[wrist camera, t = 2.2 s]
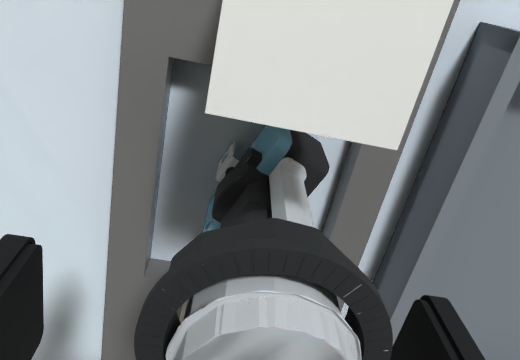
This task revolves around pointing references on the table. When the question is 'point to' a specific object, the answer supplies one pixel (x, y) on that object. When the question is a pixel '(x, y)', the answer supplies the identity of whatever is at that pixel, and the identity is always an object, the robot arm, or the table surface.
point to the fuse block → (265, 109)
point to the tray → (467, 205)
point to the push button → (264, 271)
